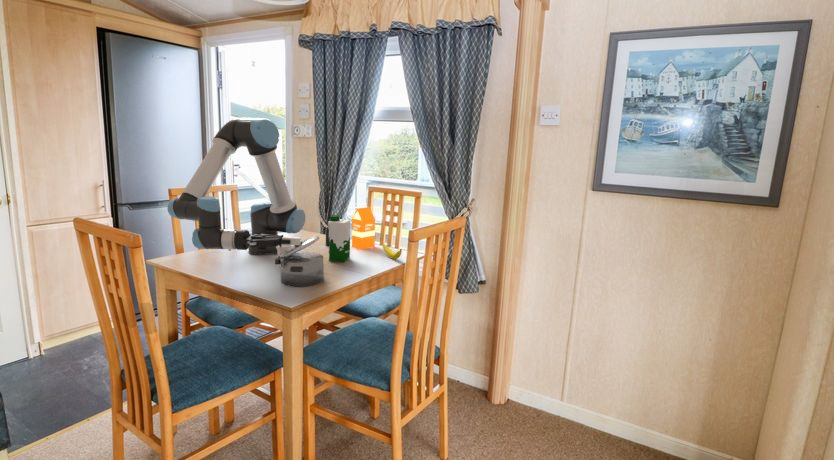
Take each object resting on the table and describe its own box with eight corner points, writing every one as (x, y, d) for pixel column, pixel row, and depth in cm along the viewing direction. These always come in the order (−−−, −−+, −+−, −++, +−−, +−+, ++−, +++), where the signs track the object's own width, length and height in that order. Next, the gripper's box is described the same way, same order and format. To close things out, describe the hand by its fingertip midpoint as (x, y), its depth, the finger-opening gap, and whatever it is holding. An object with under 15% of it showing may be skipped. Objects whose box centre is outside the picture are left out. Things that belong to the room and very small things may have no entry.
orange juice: (374, 246, 231) (375, 207, 227) (361, 249, 225) (361, 209, 221) (364, 243, 236) (365, 206, 232) (351, 246, 230) (351, 207, 226)
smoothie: (278, 265, 194) (277, 233, 191) (293, 265, 195) (292, 233, 192) (275, 269, 188) (273, 236, 185) (290, 269, 188) (289, 236, 186)
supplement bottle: (327, 246, 228) (327, 223, 225) (324, 243, 234) (323, 221, 231) (341, 245, 231) (340, 222, 228) (336, 242, 237) (336, 220, 234)
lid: (322, 234, 180) (320, 230, 180) (314, 243, 164) (312, 239, 164) (287, 251, 181) (284, 246, 181) (275, 262, 166) (273, 257, 165)
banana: (385, 252, 220) (385, 240, 218) (404, 262, 204) (404, 249, 202) (379, 253, 218) (379, 240, 217) (398, 263, 202) (398, 249, 201)
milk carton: (333, 256, 211) (333, 214, 207) (352, 258, 209) (352, 215, 205) (326, 261, 202) (325, 217, 198) (345, 263, 200) (345, 218, 196)
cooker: (328, 272, 186) (327, 251, 184) (318, 289, 166) (317, 265, 164) (284, 271, 185) (283, 250, 184) (269, 288, 165) (268, 264, 163)
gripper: (243, 245, 177) (304, 247, 177) (230, 253, 164) (295, 255, 164) (242, 226, 175) (303, 228, 176) (229, 233, 163) (295, 235, 163)
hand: (299, 241), depth 170 cm, fingers closed
